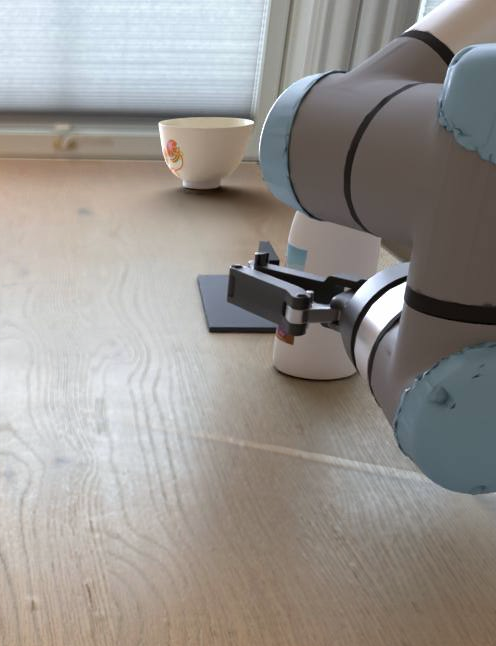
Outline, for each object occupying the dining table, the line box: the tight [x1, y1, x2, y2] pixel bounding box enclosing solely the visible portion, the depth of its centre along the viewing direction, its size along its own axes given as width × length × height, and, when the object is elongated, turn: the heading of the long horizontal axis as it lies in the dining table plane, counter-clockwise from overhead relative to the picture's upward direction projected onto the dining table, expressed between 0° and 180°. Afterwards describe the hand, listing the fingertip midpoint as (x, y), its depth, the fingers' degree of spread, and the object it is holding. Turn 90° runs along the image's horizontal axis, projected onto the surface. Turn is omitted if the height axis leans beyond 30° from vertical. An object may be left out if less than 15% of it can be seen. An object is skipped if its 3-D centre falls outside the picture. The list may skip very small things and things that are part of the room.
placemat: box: [196, 274, 277, 333], centre depth 107 cm, size 22×18×1 cm
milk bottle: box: [272, 210, 382, 380], centre depth 83 cm, size 8×8×20 cm
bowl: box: [158, 116, 255, 190], centre depth 169 cm, size 16×16×10 cm
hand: (350, 258), depth 77 cm, fingers open, 13 cm apart
